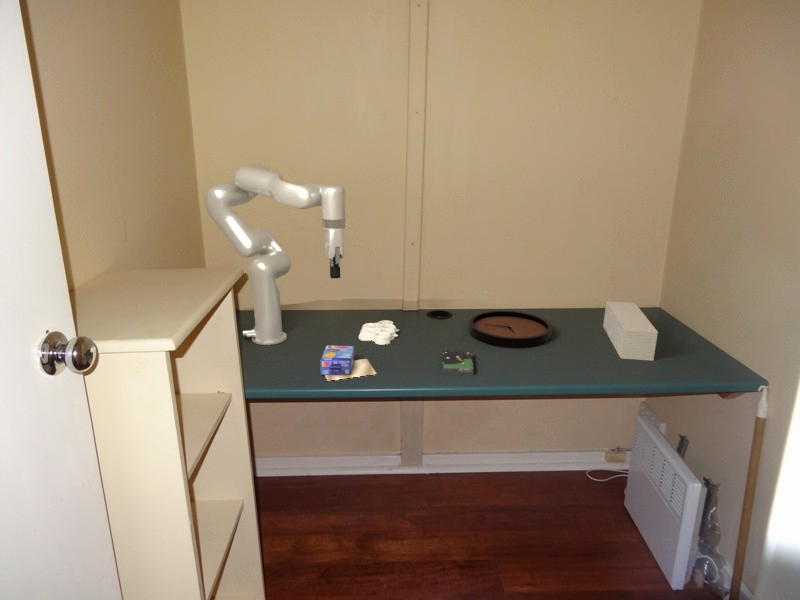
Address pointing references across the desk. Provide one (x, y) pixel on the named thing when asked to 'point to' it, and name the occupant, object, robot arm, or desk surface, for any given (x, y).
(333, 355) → the ink cartridge box
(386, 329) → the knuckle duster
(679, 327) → the desk surface
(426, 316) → the desk surface
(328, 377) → the board
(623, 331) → the stack of papers
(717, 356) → the desk surface
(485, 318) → the wall clock
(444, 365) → the disk drive
